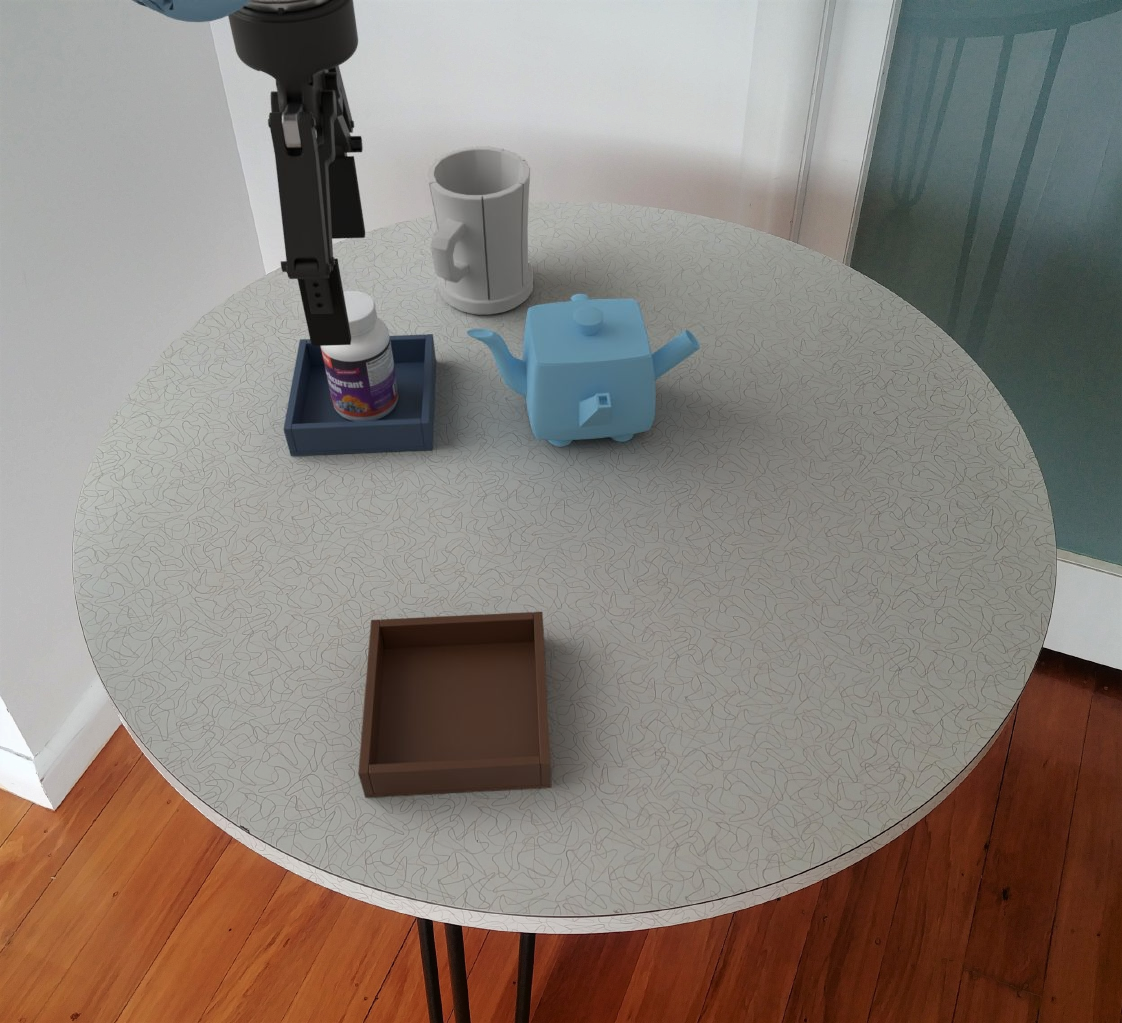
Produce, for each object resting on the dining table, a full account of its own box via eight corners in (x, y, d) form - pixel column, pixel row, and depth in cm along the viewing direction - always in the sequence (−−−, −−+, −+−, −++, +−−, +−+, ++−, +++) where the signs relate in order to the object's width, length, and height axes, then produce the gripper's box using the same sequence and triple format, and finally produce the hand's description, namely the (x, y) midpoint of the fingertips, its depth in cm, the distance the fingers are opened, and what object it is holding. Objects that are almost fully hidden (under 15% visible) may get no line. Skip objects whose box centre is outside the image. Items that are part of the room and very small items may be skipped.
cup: (541, 324, 95) (538, 205, 86) (440, 333, 94) (426, 213, 86) (528, 258, 102) (524, 142, 93) (434, 266, 101) (421, 149, 93)
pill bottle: (319, 408, 87) (297, 311, 80) (363, 373, 90) (345, 276, 83) (369, 433, 85) (351, 336, 78) (412, 396, 88) (398, 299, 81)
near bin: (365, 797, 64) (357, 773, 61) (376, 645, 71) (370, 619, 69) (551, 787, 64) (550, 763, 62) (543, 637, 72) (542, 611, 69)
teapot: (679, 359, 92) (688, 259, 84) (712, 472, 82) (726, 371, 75) (471, 374, 90) (462, 274, 83) (480, 491, 81) (470, 390, 73)
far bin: (290, 456, 84) (283, 429, 82) (306, 366, 91) (299, 339, 89) (432, 450, 84) (428, 423, 82) (436, 360, 92) (432, 333, 90)
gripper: (330, 79, 55) (380, 393, 70) (365, -85, 72) (399, 196, 87) (184, 82, 55) (266, 396, 70) (254, -83, 72) (307, 199, 87)
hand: (340, 286), depth 79 cm, fingers open, 13 cm apart
